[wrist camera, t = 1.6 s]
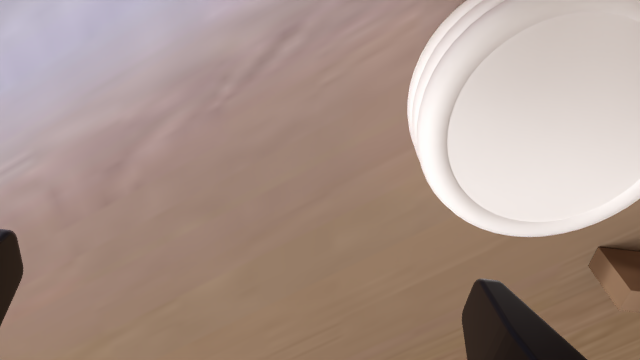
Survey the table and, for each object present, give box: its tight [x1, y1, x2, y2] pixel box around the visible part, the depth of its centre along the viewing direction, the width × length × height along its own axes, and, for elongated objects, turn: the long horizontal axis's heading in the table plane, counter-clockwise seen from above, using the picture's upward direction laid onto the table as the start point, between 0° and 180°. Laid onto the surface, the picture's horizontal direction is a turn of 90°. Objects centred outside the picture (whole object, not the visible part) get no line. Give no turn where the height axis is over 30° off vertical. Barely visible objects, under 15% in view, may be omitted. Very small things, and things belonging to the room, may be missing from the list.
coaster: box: [407, 0, 640, 237], centre depth 19 cm, size 10×10×4 cm
